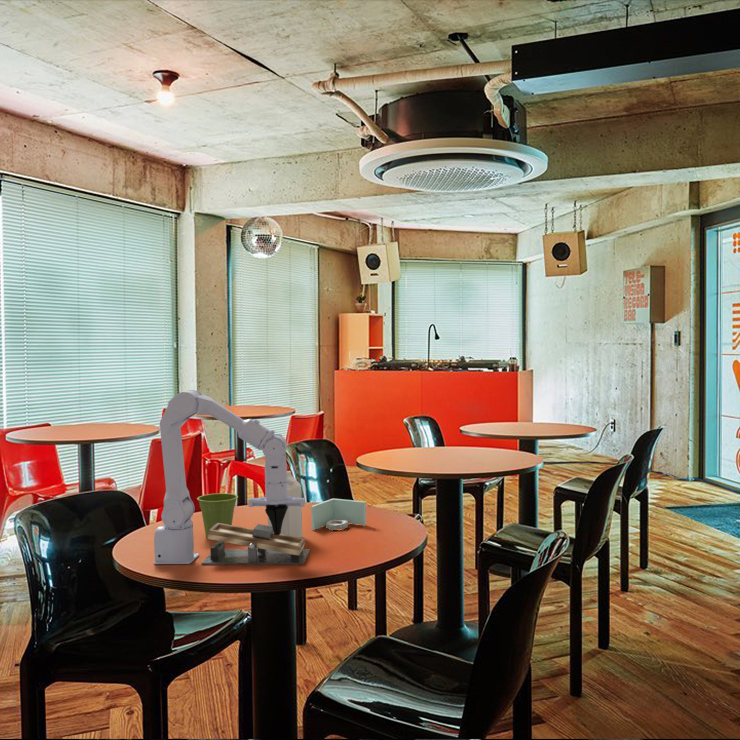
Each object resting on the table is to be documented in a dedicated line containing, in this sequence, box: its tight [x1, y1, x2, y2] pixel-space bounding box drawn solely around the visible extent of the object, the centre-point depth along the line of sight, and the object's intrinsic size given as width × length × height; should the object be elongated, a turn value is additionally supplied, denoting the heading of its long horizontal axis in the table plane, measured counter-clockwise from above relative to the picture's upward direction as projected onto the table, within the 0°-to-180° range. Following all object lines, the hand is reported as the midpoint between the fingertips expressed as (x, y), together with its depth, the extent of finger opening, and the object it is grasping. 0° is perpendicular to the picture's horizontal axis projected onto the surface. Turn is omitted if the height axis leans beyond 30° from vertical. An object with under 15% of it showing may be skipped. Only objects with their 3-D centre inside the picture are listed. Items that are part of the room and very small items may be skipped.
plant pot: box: [196, 492, 239, 537], centre depth 202 cm, size 12×12×11 cm
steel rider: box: [252, 523, 274, 540], centre depth 178 cm, size 4×5×3 cm
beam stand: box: [200, 541, 311, 566], centre depth 178 cm, size 26×13×5 cm, turn 86°
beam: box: [206, 523, 306, 555], centre depth 178 cm, size 24×8×2 cm, turn 86°
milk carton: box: [267, 470, 303, 538], centre depth 196 cm, size 7×7×19 cm
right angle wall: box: [310, 498, 367, 531], centre depth 207 cm, size 12×12×8 cm
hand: (277, 533), depth 178 cm, fingers closed
